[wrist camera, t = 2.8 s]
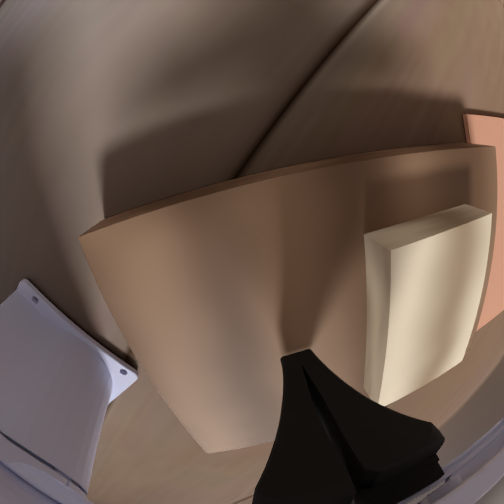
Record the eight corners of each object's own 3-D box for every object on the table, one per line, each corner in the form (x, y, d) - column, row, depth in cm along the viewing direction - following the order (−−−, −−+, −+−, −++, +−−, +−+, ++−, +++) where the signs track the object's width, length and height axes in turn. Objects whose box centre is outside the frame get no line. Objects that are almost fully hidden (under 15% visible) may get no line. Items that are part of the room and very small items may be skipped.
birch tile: (363, 387, 14) (377, 409, 12) (363, 234, 11) (390, 250, 9) (446, 344, 15) (462, 360, 13) (465, 204, 11) (491, 213, 9)
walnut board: (205, 421, 18) (207, 453, 15) (104, 219, 12) (78, 237, 9) (450, 332, 19) (469, 350, 16) (462, 142, 13) (495, 146, 10)
